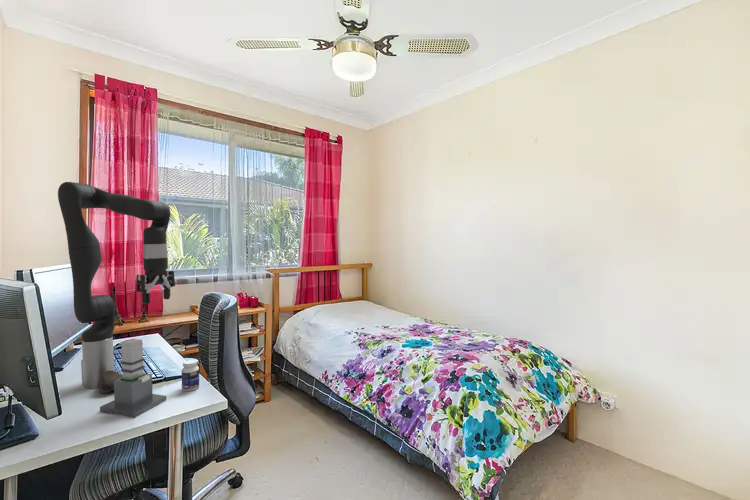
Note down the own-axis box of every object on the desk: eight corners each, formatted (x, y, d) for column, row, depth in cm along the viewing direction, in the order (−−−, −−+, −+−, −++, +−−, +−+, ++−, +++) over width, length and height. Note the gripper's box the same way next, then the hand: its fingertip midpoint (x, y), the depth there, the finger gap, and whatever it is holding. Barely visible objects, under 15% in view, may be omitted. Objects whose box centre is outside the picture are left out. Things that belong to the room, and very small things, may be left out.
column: (121, 388, 118) (119, 342, 117) (134, 382, 122) (132, 338, 121) (132, 389, 117) (131, 343, 116) (145, 383, 121) (143, 339, 120)
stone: (114, 393, 137) (89, 381, 132) (132, 375, 139) (108, 362, 134) (114, 407, 129) (87, 395, 124) (133, 388, 131) (108, 374, 126)
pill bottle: (192, 392, 130) (191, 365, 129) (178, 390, 131) (177, 363, 130) (202, 385, 135) (202, 359, 135) (189, 384, 137) (188, 358, 136)
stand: (99, 411, 116) (98, 380, 115) (133, 395, 128) (132, 366, 127) (134, 417, 112) (133, 385, 112) (166, 400, 124) (165, 370, 123)
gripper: (163, 255, 138) (164, 297, 139) (129, 257, 125) (130, 304, 126) (179, 255, 136) (180, 298, 137) (146, 258, 123) (148, 305, 124)
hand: (157, 301), depth 131 cm, fingers open, 8 cm apart
